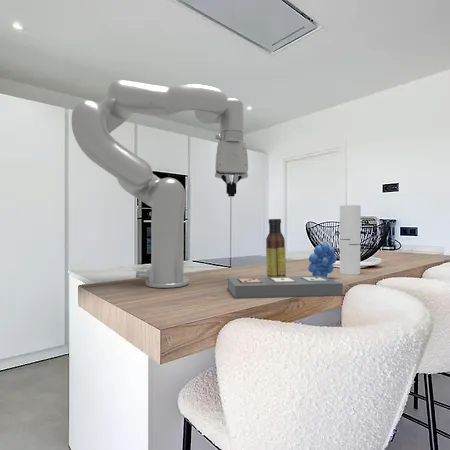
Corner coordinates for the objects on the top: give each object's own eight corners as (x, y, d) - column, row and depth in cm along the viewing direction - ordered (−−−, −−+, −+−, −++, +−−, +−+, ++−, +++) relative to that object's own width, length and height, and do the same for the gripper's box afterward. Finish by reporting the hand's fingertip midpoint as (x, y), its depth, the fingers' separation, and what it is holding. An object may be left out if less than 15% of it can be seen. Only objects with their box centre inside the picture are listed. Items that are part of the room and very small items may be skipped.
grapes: (326, 276, 112) (326, 241, 112) (341, 279, 106) (341, 242, 106) (300, 278, 106) (300, 242, 106) (314, 281, 100) (314, 243, 100)
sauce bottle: (285, 277, 108) (285, 218, 108) (286, 281, 102) (287, 218, 102) (265, 277, 108) (265, 218, 108) (266, 280, 102) (266, 218, 102)
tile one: (276, 293, 83) (276, 280, 83) (270, 289, 88) (270, 277, 88) (294, 292, 84) (294, 280, 84) (288, 288, 88) (288, 277, 88)
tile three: (242, 293, 82) (242, 281, 82) (238, 289, 87) (238, 278, 87) (261, 293, 82) (261, 281, 82) (256, 289, 87) (256, 278, 87)
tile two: (309, 292, 84) (309, 280, 84) (302, 288, 89) (302, 277, 89) (327, 291, 85) (327, 279, 85) (319, 287, 90) (319, 276, 90)
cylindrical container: (342, 271, 123) (342, 206, 123) (362, 272, 119) (362, 206, 119) (337, 273, 117) (337, 205, 117) (357, 275, 113) (357, 205, 113)
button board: (234, 298, 78) (234, 285, 78) (227, 288, 90) (227, 277, 90) (342, 295, 82) (342, 283, 82) (322, 286, 94) (322, 275, 94)
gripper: (209, 135, 98) (209, 194, 98) (256, 137, 100) (256, 195, 100) (207, 141, 105) (207, 196, 106) (251, 143, 108) (251, 197, 108)
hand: (231, 196), depth 103 cm, fingers closed
